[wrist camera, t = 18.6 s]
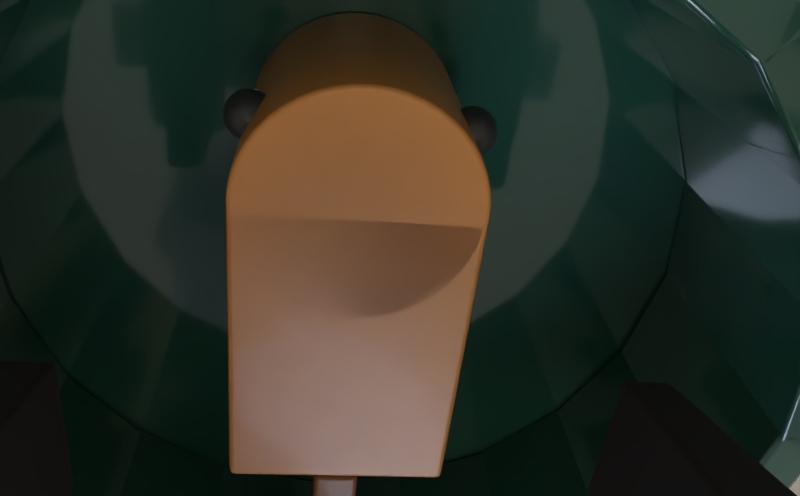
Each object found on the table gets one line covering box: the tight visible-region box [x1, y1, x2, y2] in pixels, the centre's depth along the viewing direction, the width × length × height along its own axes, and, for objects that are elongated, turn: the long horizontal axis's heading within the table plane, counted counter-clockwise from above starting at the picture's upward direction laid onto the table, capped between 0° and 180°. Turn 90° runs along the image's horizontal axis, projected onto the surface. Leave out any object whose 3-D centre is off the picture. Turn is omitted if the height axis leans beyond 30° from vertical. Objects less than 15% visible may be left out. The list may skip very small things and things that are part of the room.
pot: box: [0, 0, 800, 496], centre depth 12 cm, size 14×14×5 cm
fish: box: [223, 13, 497, 496], centre depth 12 cm, size 8×4×4 cm, turn 174°
